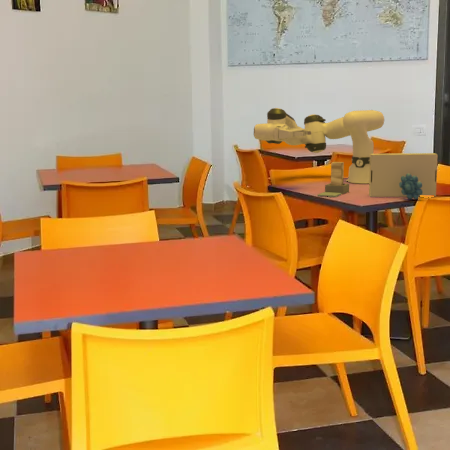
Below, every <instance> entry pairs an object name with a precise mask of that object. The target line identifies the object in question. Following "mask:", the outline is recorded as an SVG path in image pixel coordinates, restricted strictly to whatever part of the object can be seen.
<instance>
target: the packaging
mask: <svg viewBox="0 0 450 450" xmlns="http://www.w3.org/2000/svg"><path fill="white" fill-rule="evenodd" d="M438 156H439V155H438V154H437V153H434V152H427V153H426V152H425V153H424V152H423V153H422V152H420V153H419V152H418V153H417V152H415V153H413V152H412V153H411V152H408V153H405V152H404V153H398V152H397V153H373V154H370V169H369V183H368V196H369V197H370V198H407V195H403V194H402V192H401V190H402V188H400V186H399V183H400V182H402V181H401V177H402V176H405V177H406V174H408V173H409V174H411V175H412V177H413V176H414V175H415V176H417V177H418V181H419V182H421V183H422V187H421V188H420V189H422V191H423V193H422V195H434V196H436V197H437V182H438V181H437V178H438ZM418 181H417V182H418ZM419 196H420V195H419Z"/></svg>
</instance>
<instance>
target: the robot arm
mask: <svg viewBox="0 0 450 450" xmlns="http://www.w3.org/2000/svg"><path fill="white" fill-rule="evenodd" d="M266 115H267V117H266V118H267V121H266V123H257V124H255V125H254V128H253V137H254V139H256V140H259V141H265V142H267V143H268V144H275V145H279V144H281V143H283V142H285V144H287V145H289V146H300V145H305V146H304V148H305V149H307V150H308V151H309V152H310V153H313V154H314V153H315V154H318V153H322V152H323V151H325V150H326V148H327V142H326V138H327V139H329V140H338V139H339V140H340V139H343V138H346V137H350V138H351V141H352V156H351V163H352V164H350V166H349V167H348V178H347V179H345V182H347V181H348V183H352V184H369V169H370V154H374V148H375V147H374V141H373V140H372V139H371V138H370V137H369V135H368V132H372V131H375V130H379V129H381V128H383V125H384V124H385V123H384V122H385V116H384V114H383V113H382V112H381V111H379V110H373V109H371V110H370V109H369V110H367V109H364V110H363V109H362V110H361V109H360V110H352V111H349V112H346V113H345V114H344V116H342V117H339V118H336V119H333V120H332V121H329V122H326V119H325V118H323V117H322V116H321V115H319V114H315V113H313V114H309V115H308V116H306V117H304V120H303V125H304V128H303V127H301V126H299V125H298V124H297V123H296V120H295V119H294V117H292V116H291V115H290V114H288V113H287V112H286V111H285V110H284V109H282V108H279V107H275V108H274V107H273V108H271V109H269V111H267V113H266Z"/></svg>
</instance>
